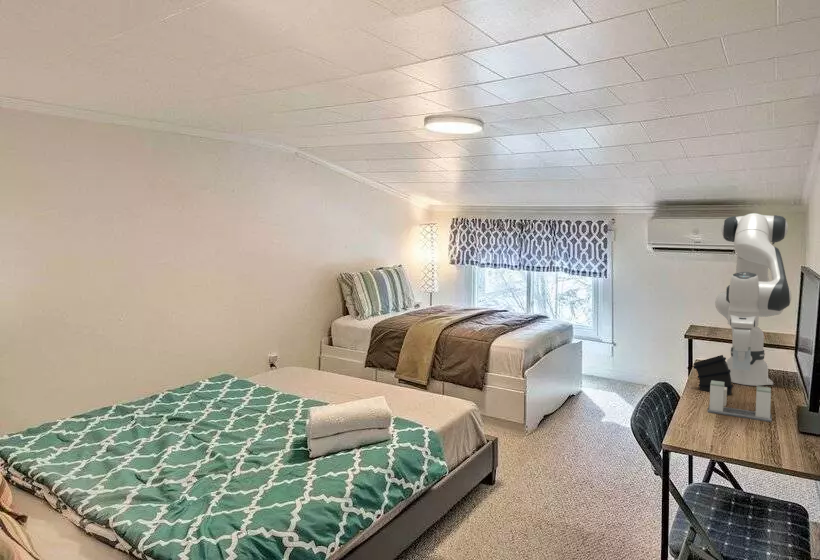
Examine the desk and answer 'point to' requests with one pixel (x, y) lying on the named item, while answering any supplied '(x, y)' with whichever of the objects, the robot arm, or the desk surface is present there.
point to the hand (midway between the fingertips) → (741, 359)
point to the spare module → (725, 395)
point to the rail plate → (740, 413)
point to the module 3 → (763, 402)
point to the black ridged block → (713, 373)
